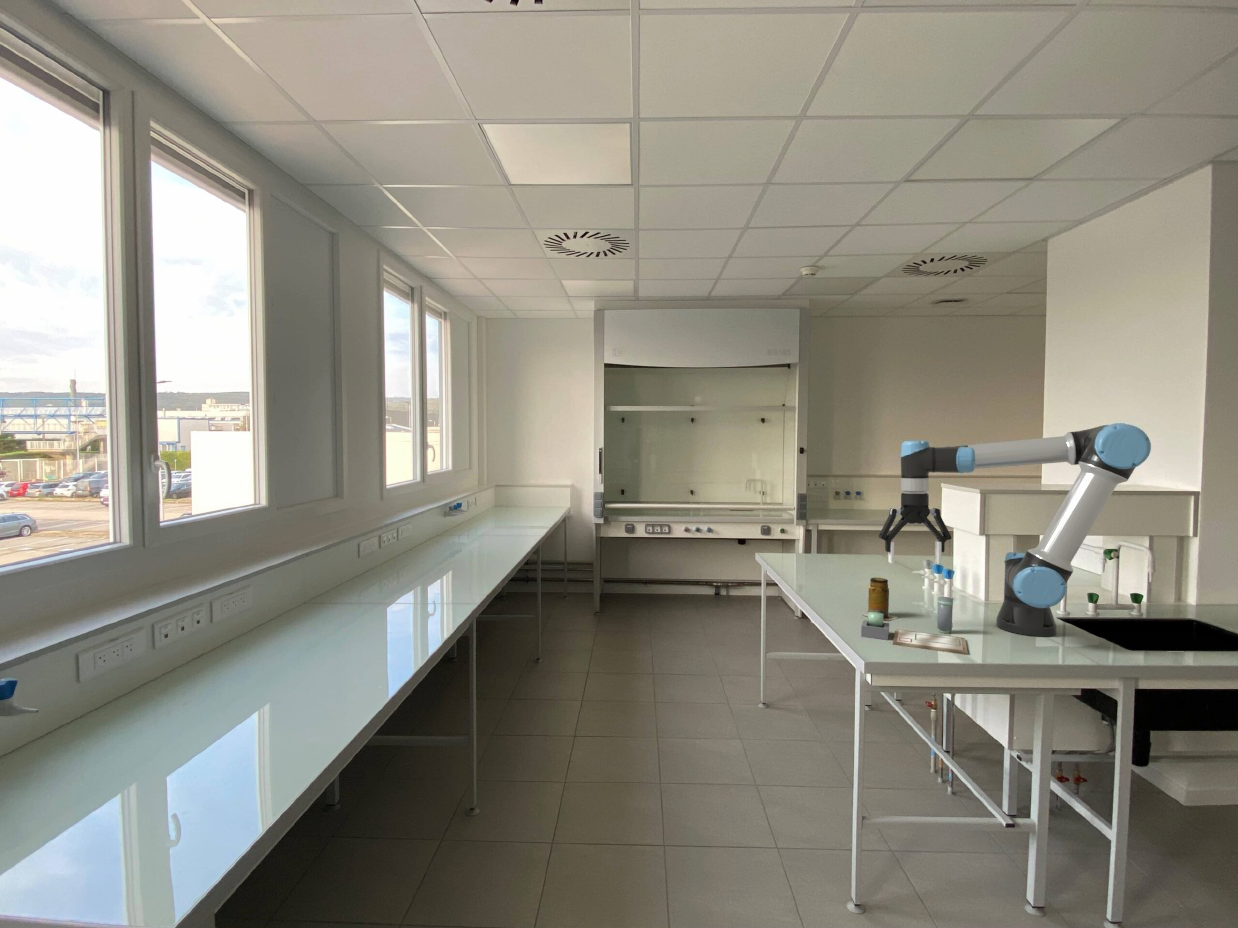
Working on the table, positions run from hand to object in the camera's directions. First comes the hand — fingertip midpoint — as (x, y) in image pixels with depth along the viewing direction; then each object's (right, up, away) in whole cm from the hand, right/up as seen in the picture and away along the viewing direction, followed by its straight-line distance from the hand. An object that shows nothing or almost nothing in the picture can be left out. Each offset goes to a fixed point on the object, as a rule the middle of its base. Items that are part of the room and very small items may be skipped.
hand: (914, 563), depth 190 cm
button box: (-15, -20, -7) cm, 26 cm away
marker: (+7, -20, -4) cm, 21 cm away
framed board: (-2, -20, -13) cm, 24 cm away
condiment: (-5, -19, +12) cm, 23 cm away
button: (-15, -16, -7) cm, 23 cm away
